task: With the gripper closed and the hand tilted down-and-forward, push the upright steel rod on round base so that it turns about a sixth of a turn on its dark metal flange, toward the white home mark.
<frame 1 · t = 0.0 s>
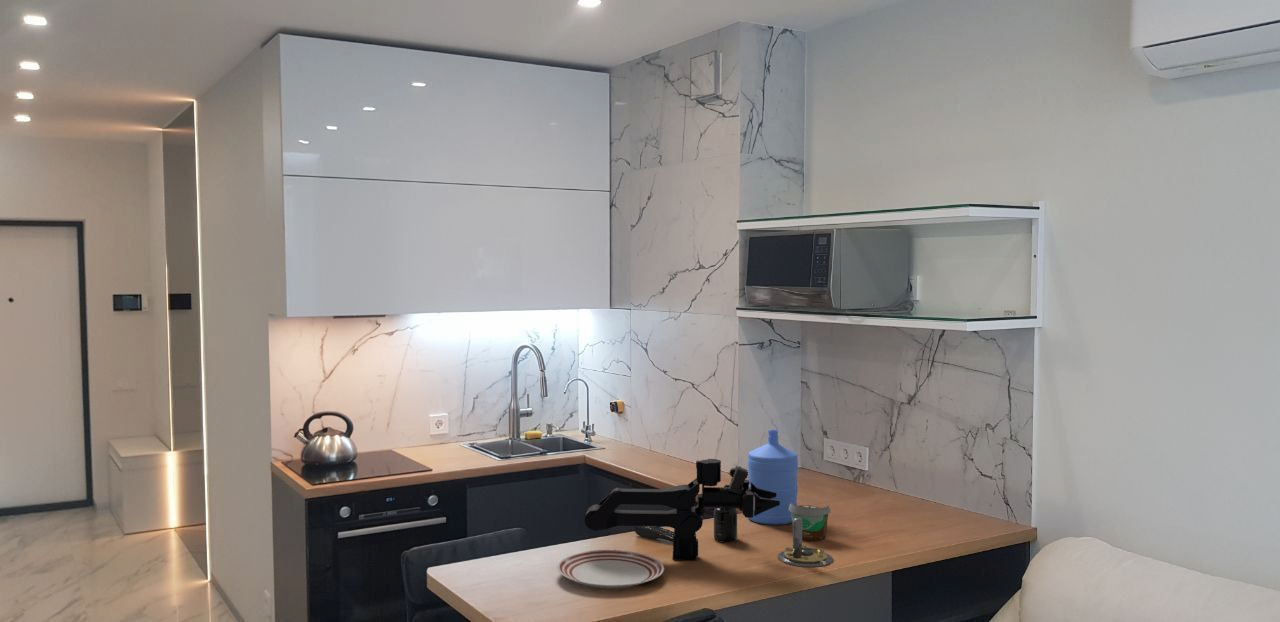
hand: (778, 498, 267), 17 cm above the counter, tool horizontal, fingers open, 9 cm apart
supplement bottle: (725, 540, 287), on the counter
food container: (807, 540, 287), on the counter
rod on round base: (805, 536, 268), point 6 cm above the counter, hinge at 0.0°
flange: (805, 558, 268), on the counter
water jug: (772, 519, 309), on the counter
dinner plate: (610, 578, 252), on the counter
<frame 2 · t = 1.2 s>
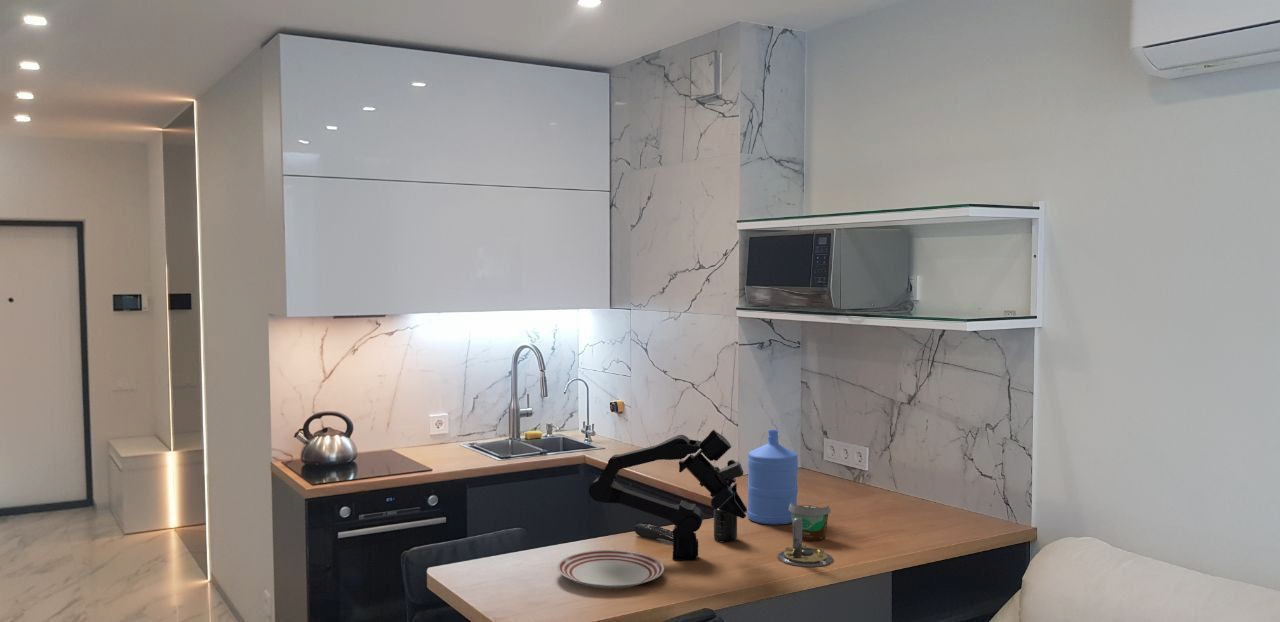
hand: (745, 514, 266), 13 cm above the counter, tool tilted 45°, fingers open, 7 cm apart
nothing on the counter moved.
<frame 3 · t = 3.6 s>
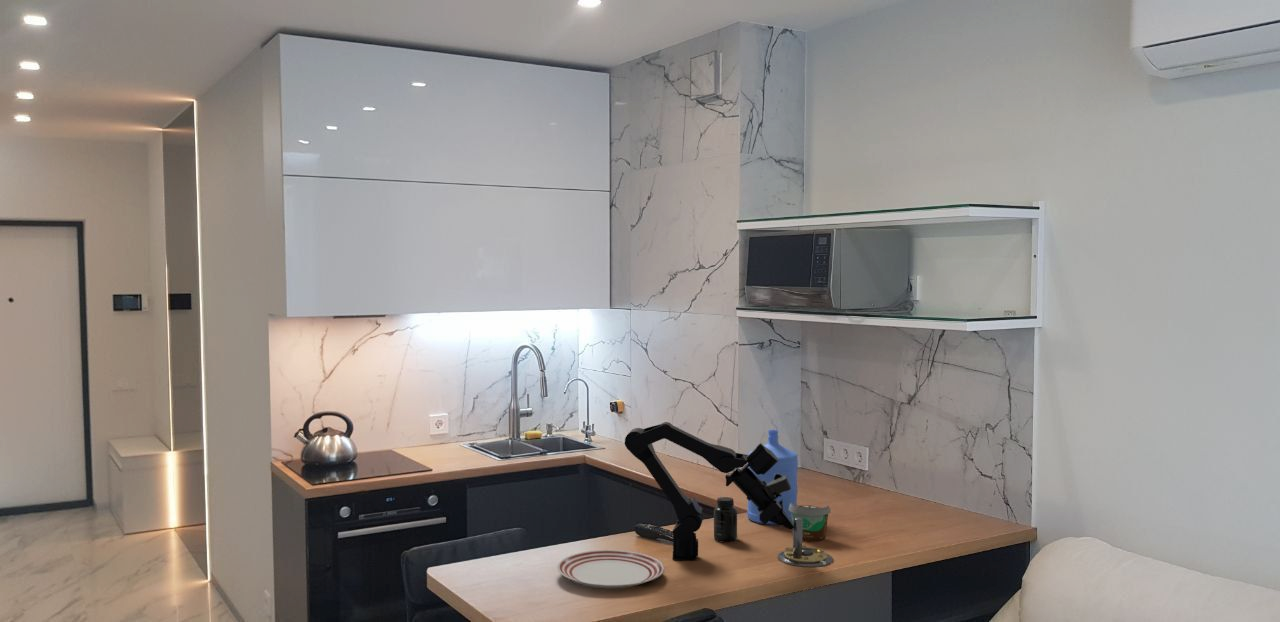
hand: (792, 528, 264), 9 cm above the counter, tool tilted 45°, fingers closed, pressing on rod on round base
rod on round base: (805, 536, 268), point 6 cm above the counter, hinge at 0.8°, touching gripper
everything else where it was.
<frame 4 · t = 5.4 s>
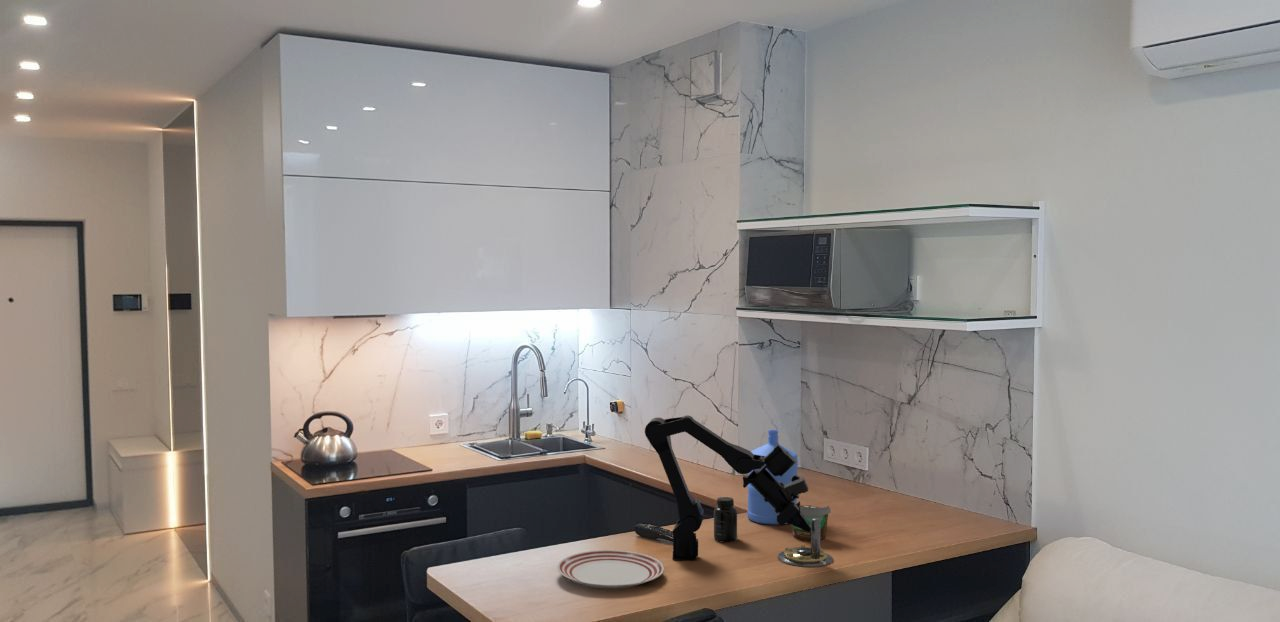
hand: (810, 530, 263), 9 cm above the counter, tool tilted 45°, fingers closed
rod on round base: (805, 536, 268), point 6 cm above the counter, hinge at 65.1°
everything else where it was.
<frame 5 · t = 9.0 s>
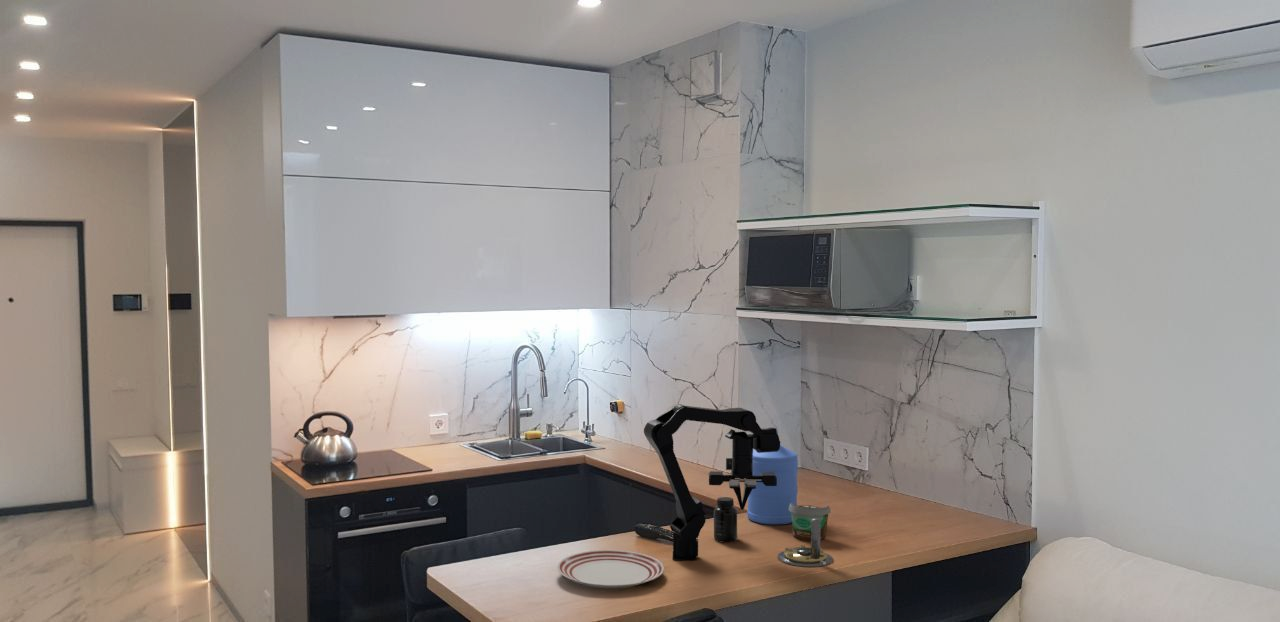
hand: (742, 509, 274), 12 cm above the counter, tool pointing down, fingers closed
nothing on the counter moved.
at the end: rod on round base at +65° (first picture: +0°); the gripper is holding nothing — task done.
